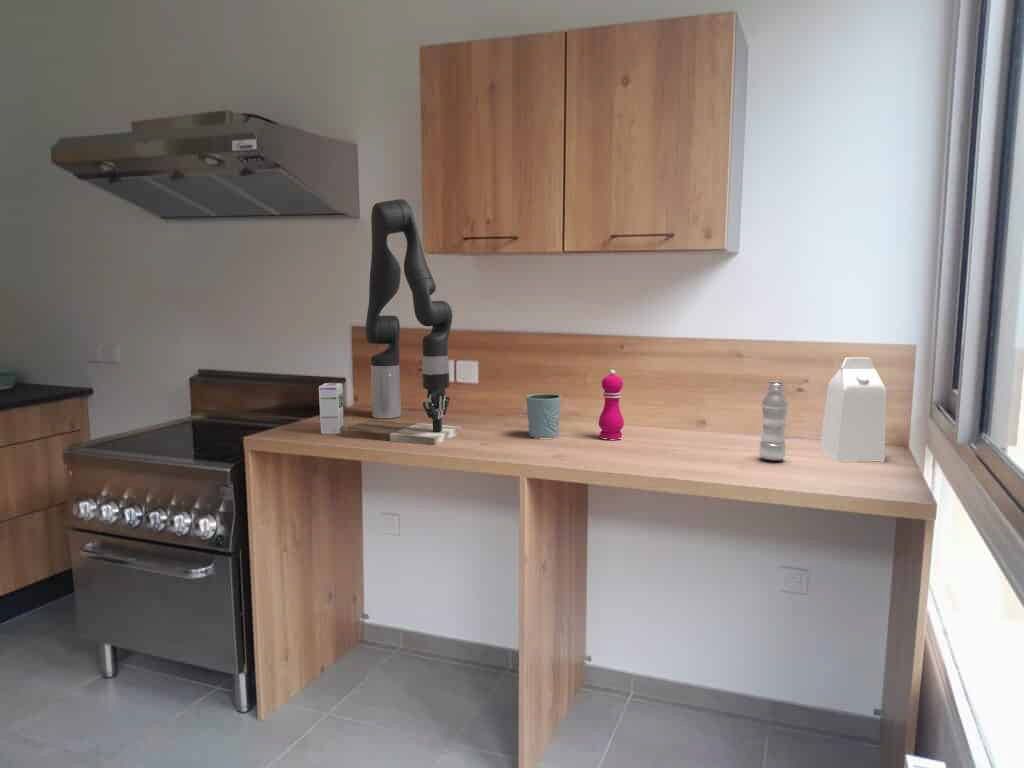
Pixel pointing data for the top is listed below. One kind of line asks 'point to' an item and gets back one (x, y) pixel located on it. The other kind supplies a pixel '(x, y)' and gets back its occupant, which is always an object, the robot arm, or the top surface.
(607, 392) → the pepper mill
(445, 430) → the beige flat block
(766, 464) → the top surface
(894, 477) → the top surface
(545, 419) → the blue planter pot
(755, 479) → the top surface
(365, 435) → the planks
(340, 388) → the syrup box
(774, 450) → the plastic bottle
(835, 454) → the milk
